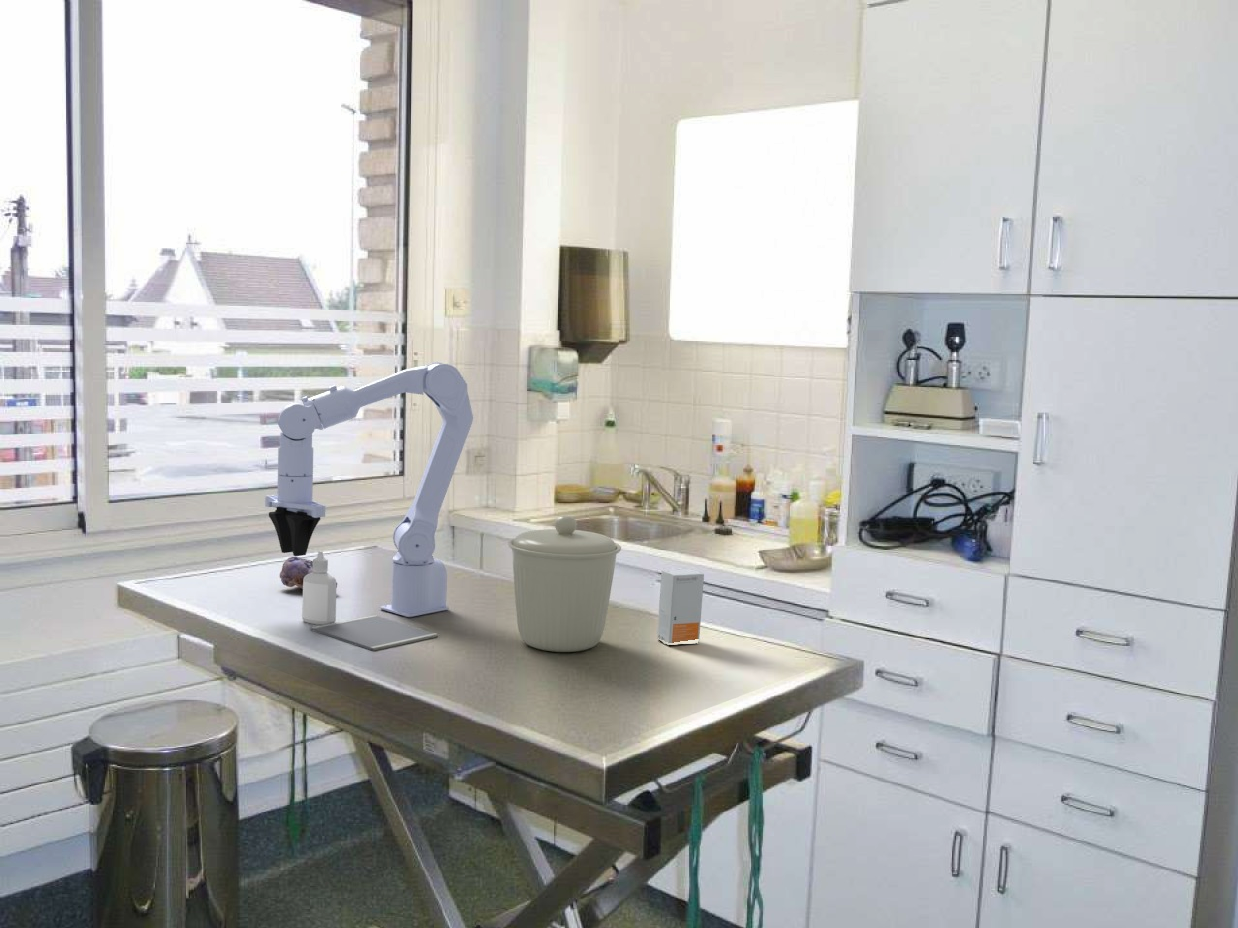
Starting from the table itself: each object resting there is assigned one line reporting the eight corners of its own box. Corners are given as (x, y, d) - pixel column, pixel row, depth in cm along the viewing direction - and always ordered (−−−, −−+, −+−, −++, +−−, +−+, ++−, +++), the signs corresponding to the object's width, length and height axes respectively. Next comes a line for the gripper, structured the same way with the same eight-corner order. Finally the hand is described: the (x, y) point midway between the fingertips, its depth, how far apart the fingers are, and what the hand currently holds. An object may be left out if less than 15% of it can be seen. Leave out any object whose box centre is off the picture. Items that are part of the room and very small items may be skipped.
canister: (639, 648, 180) (645, 519, 177) (556, 666, 167) (562, 528, 165) (563, 624, 192) (569, 504, 190) (481, 640, 179) (486, 511, 177)
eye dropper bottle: (313, 627, 182) (314, 555, 181) (299, 619, 186) (301, 549, 185) (338, 624, 185) (340, 553, 184) (324, 616, 189) (325, 547, 188)
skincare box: (669, 647, 181) (673, 575, 180) (656, 640, 185) (660, 570, 184) (700, 644, 184) (705, 573, 183) (687, 637, 188) (691, 568, 186)
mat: (375, 617, 190) (375, 615, 190) (437, 636, 180) (437, 633, 180) (311, 630, 180) (311, 627, 180) (373, 650, 170) (373, 647, 170)
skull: (346, 594, 207) (347, 562, 206) (312, 600, 201) (313, 567, 200) (304, 583, 214) (305, 552, 213) (271, 589, 208) (272, 557, 207)
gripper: (250, 471, 189) (248, 549, 191) (300, 481, 180) (298, 563, 182) (286, 469, 195) (284, 545, 196) (336, 478, 186) (334, 558, 187)
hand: (293, 553), depth 189 cm, fingers open, 3 cm apart
